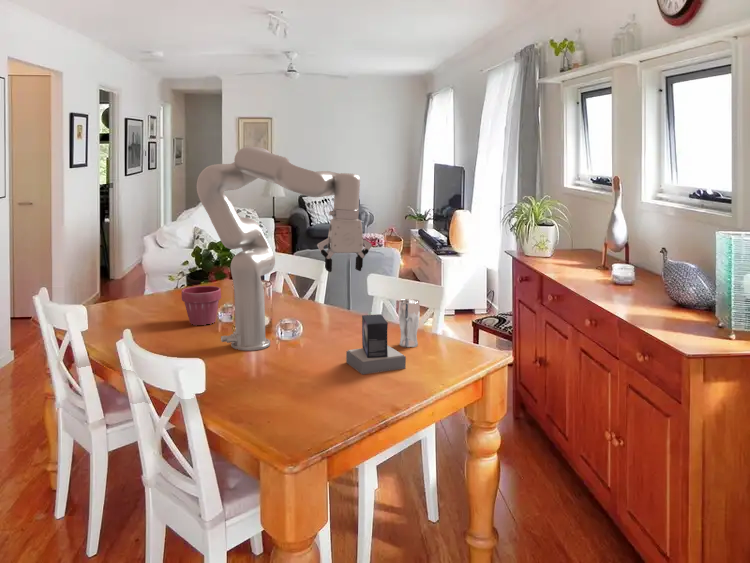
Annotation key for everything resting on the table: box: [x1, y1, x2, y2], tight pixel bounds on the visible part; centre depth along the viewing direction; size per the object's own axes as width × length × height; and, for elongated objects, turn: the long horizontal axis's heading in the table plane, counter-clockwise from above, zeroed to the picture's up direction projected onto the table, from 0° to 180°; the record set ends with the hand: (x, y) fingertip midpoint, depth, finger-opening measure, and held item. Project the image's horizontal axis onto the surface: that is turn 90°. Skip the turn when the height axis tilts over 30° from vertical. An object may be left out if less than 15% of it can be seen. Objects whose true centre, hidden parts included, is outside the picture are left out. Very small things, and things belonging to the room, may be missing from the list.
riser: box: [345, 344, 407, 375], centre depth 199 cm, size 14×12×4 cm
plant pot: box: [181, 285, 222, 326], centre depth 245 cm, size 14×14×13 cm
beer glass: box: [398, 298, 421, 349], centre depth 219 cm, size 7×7×15 cm
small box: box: [361, 313, 389, 358], centre depth 197 cm, size 11×6×10 cm, turn 10°
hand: (343, 270), depth 203 cm, fingers open, 9 cm apart
